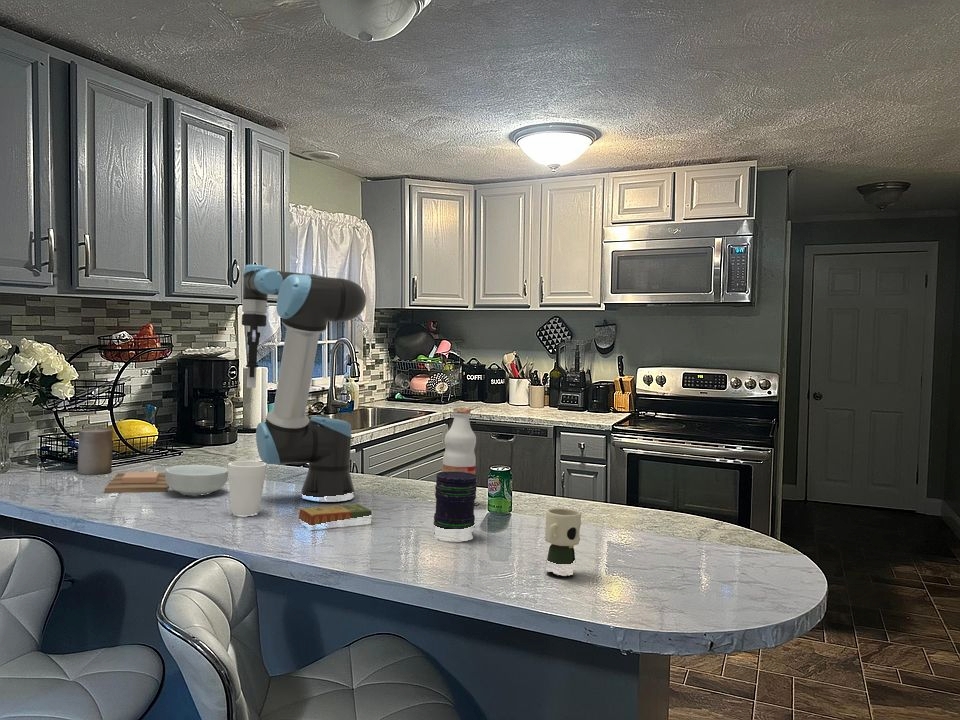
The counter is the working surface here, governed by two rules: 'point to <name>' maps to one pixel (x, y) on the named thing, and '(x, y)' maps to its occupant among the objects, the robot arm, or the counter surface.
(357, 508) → the brown and green block
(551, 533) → the character mug
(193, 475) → the cereal bowl
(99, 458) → the pillar candle
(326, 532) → the counter surface
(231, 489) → the foam cup
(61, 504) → the counter surface
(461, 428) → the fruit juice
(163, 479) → the board
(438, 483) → the storage jar
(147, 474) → the tile
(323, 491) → the robot arm
